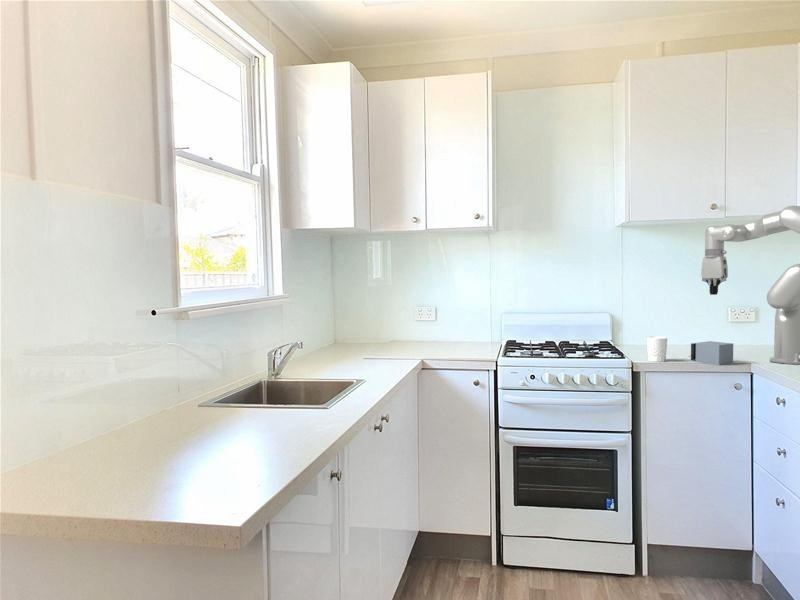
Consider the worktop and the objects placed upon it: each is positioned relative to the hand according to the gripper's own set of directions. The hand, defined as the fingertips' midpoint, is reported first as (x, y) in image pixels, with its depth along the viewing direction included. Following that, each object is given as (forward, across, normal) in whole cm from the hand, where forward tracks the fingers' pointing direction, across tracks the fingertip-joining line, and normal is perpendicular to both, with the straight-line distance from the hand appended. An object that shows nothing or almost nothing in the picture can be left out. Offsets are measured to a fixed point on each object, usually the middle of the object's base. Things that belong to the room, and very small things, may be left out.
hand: (713, 294), depth 265 cm
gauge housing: (+27, -8, +20) cm, 35 cm away
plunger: (+27, -11, +20) cm, 35 cm away
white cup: (+27, +2, +37) cm, 46 cm away
